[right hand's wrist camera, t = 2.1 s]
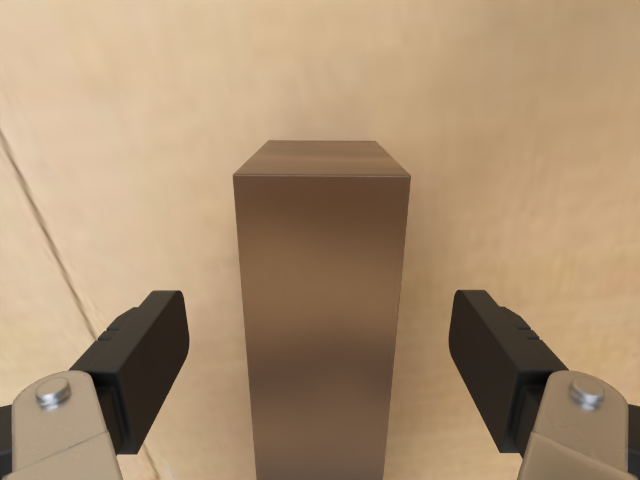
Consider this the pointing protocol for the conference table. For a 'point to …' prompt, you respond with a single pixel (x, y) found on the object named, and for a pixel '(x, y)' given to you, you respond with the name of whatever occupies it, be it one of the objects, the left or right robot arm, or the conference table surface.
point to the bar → (320, 303)
